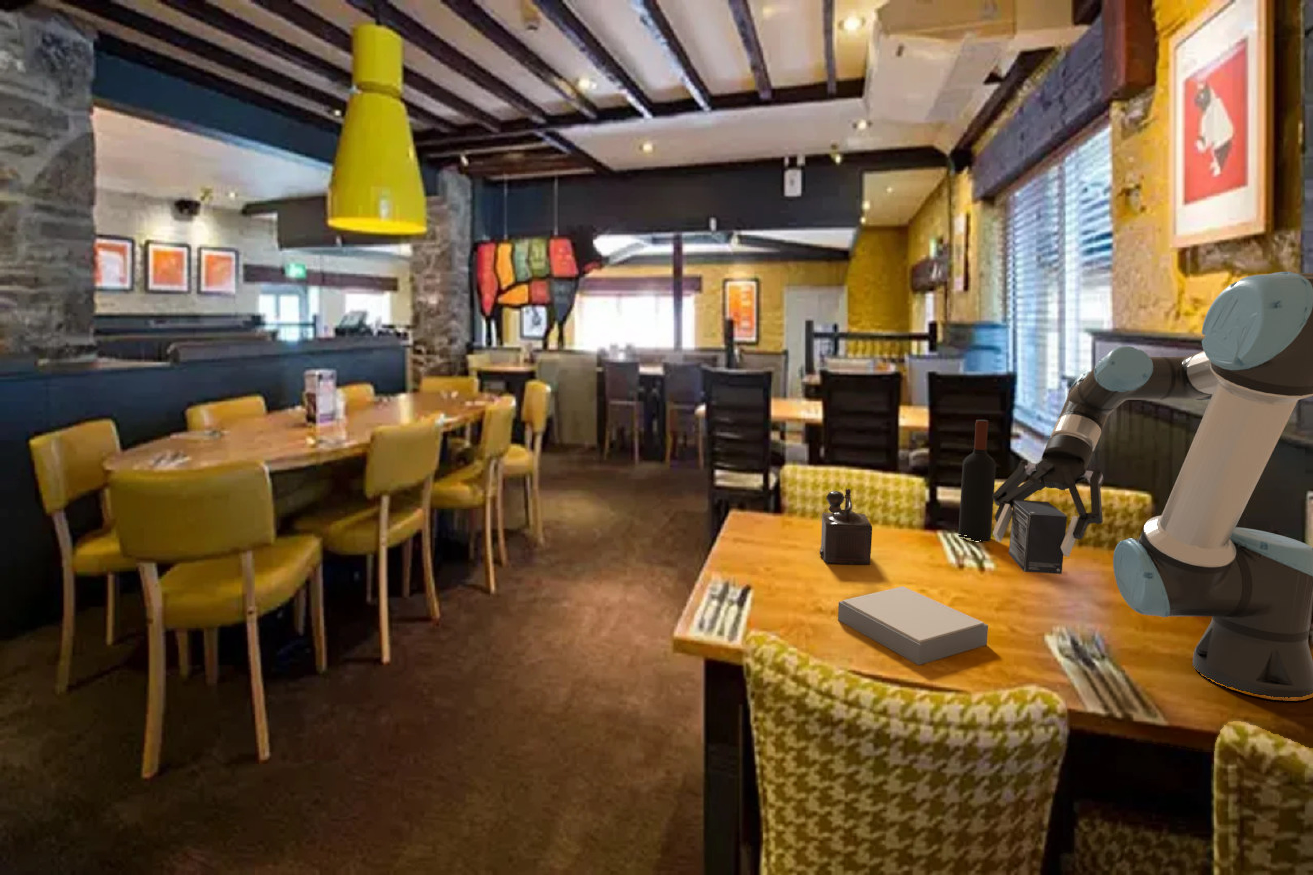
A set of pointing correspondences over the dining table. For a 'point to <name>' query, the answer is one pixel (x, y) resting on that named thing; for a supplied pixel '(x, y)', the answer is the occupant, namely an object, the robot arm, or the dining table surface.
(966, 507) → the wine bottle
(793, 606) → the dining table surface
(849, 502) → the pepper mill
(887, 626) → the stand
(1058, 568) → the small box
